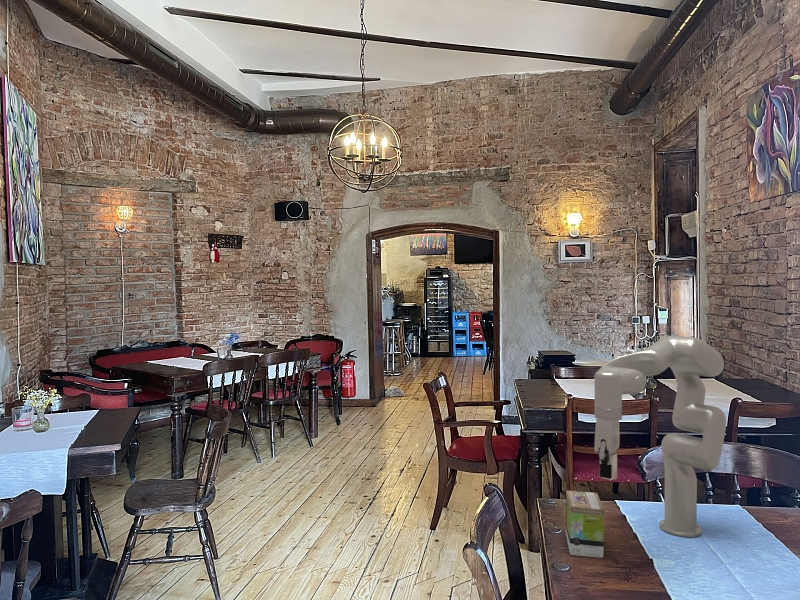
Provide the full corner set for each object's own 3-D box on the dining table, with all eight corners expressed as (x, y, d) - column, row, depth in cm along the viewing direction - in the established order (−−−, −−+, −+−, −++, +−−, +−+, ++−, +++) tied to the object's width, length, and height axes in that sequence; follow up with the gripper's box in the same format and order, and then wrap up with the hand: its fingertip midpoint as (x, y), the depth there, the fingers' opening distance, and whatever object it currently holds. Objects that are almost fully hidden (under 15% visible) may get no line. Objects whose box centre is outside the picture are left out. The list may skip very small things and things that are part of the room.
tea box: (604, 559, 165) (605, 508, 165) (569, 555, 167) (569, 506, 167) (597, 537, 179) (597, 491, 179) (564, 534, 181) (565, 489, 181)
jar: (602, 473, 167) (602, 447, 167) (619, 476, 164) (618, 450, 164) (597, 477, 163) (597, 451, 163) (614, 480, 161) (614, 454, 160)
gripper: (603, 406, 173) (603, 465, 173) (586, 416, 159) (586, 480, 159) (628, 409, 168) (628, 469, 169) (613, 420, 155) (613, 485, 155)
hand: (608, 474), depth 164 cm, fingers closed on jar, 4 cm apart
